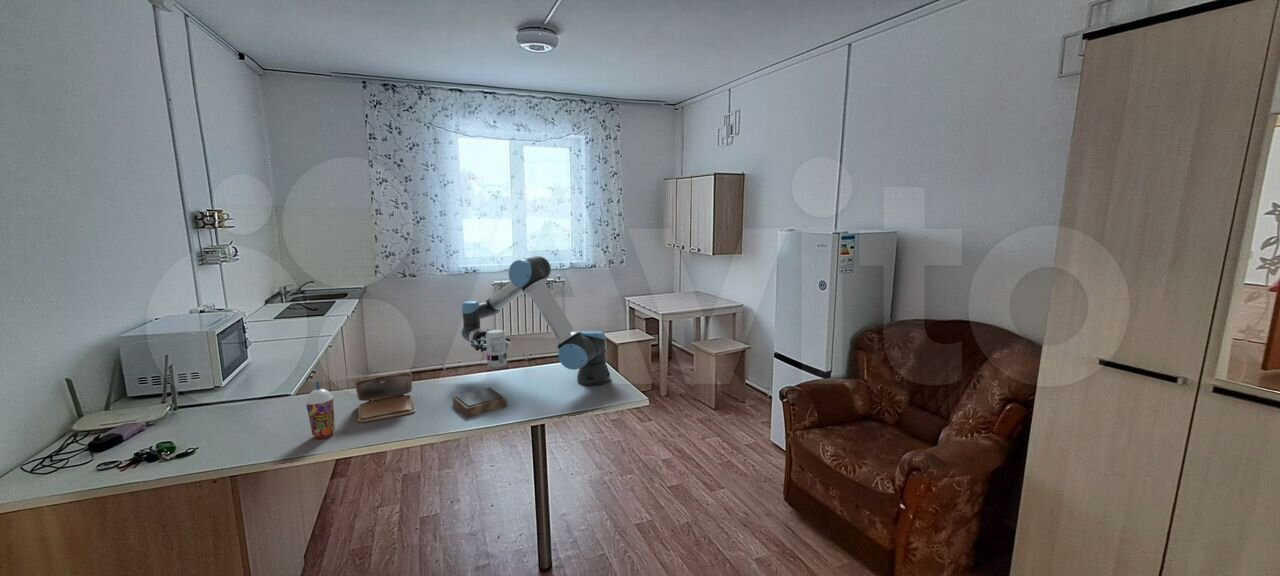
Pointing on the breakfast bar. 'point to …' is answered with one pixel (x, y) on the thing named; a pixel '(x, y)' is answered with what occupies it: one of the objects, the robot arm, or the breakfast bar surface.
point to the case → (385, 396)
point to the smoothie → (321, 412)
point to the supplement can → (496, 348)
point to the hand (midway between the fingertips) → (500, 348)
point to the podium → (479, 401)
